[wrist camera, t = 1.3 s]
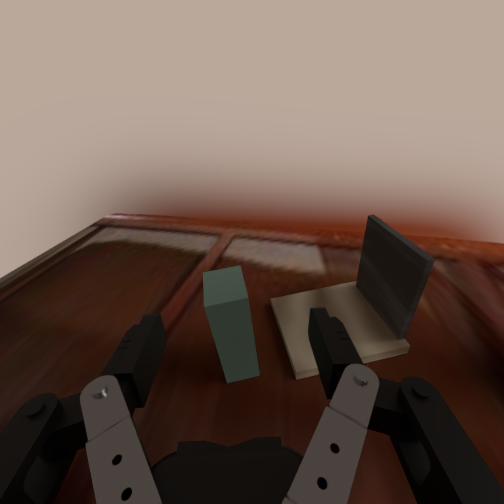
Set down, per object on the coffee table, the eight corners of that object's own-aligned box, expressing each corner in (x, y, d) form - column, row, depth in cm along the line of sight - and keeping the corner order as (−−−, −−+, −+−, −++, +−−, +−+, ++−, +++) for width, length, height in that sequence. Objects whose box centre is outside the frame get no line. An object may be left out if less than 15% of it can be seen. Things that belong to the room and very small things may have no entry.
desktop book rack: (355, 287, 40) (369, 211, 33) (407, 353, 30) (443, 265, 23) (271, 305, 39) (265, 230, 31) (296, 379, 29) (296, 296, 22)
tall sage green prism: (252, 339, 34) (240, 264, 27) (260, 375, 30) (248, 297, 23) (223, 346, 34) (203, 271, 27) (227, 383, 30) (204, 306, 22)
